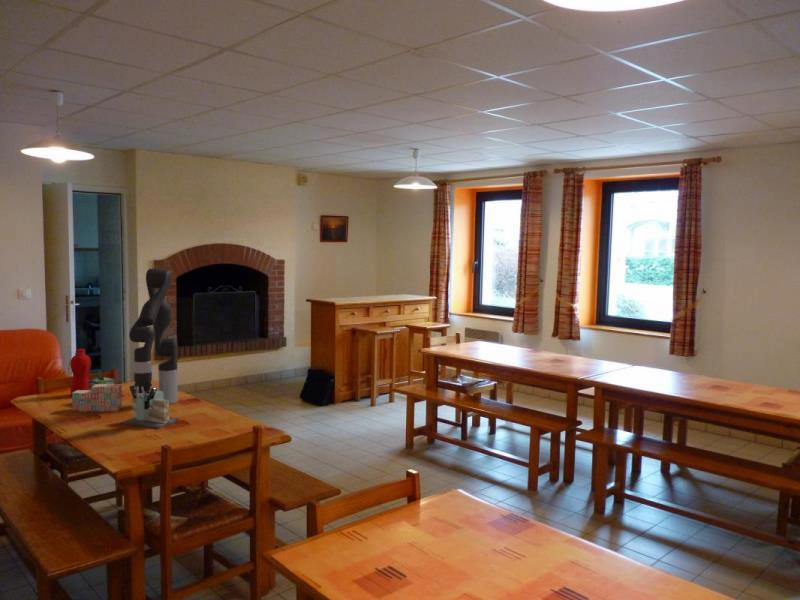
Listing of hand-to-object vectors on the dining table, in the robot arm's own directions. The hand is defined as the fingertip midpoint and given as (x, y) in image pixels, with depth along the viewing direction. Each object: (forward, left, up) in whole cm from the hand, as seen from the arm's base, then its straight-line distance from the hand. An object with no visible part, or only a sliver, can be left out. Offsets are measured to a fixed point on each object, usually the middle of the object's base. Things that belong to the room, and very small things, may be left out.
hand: (143, 408), depth 280 cm
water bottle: (-47, -59, -8) cm, 76 cm away
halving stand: (-4, +1, -8) cm, 9 cm away
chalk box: (-37, -41, -8) cm, 56 cm away
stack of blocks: (-21, -34, -8) cm, 41 cm away
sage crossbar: (-4, +1, -5) cm, 6 cm away
